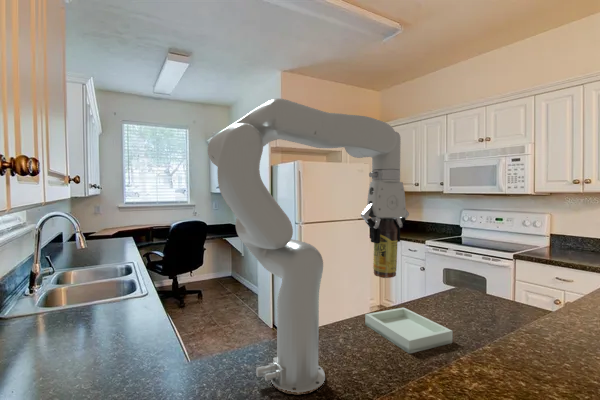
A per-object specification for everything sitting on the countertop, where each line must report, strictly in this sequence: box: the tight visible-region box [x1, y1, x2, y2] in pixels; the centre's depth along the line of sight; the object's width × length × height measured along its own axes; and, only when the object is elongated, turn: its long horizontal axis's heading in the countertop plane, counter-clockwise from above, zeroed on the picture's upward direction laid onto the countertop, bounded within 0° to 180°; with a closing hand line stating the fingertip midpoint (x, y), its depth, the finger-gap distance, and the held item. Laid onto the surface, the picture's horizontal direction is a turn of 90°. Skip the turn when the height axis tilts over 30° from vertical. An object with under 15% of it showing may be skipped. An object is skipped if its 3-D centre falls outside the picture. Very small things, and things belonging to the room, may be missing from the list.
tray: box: [364, 307, 454, 355], centre depth 95 cm, size 16×20×4 cm
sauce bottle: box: [372, 218, 398, 279], centre depth 86 cm, size 7×6×20 cm
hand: (385, 241), depth 86 cm, fingers closed on sauce bottle, 6 cm apart
